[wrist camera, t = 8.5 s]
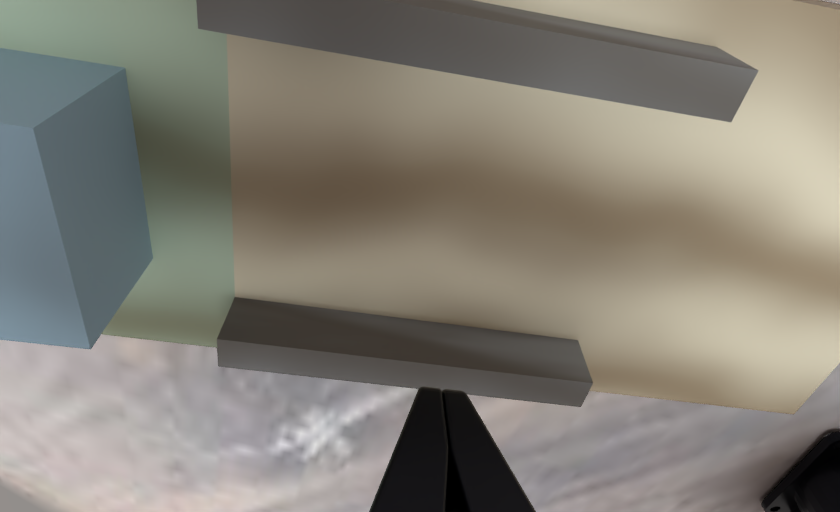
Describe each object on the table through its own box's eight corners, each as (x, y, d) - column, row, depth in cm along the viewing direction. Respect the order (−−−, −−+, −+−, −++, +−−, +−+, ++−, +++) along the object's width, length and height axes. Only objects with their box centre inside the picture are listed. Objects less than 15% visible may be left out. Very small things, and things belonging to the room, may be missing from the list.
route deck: (767, 376, 23) (824, 458, 20) (-329, 241, 19) (-485, 318, 16) (1031, 43, 15) (1198, 89, 12) (-756, -323, 11) (-1254, -408, 8)
